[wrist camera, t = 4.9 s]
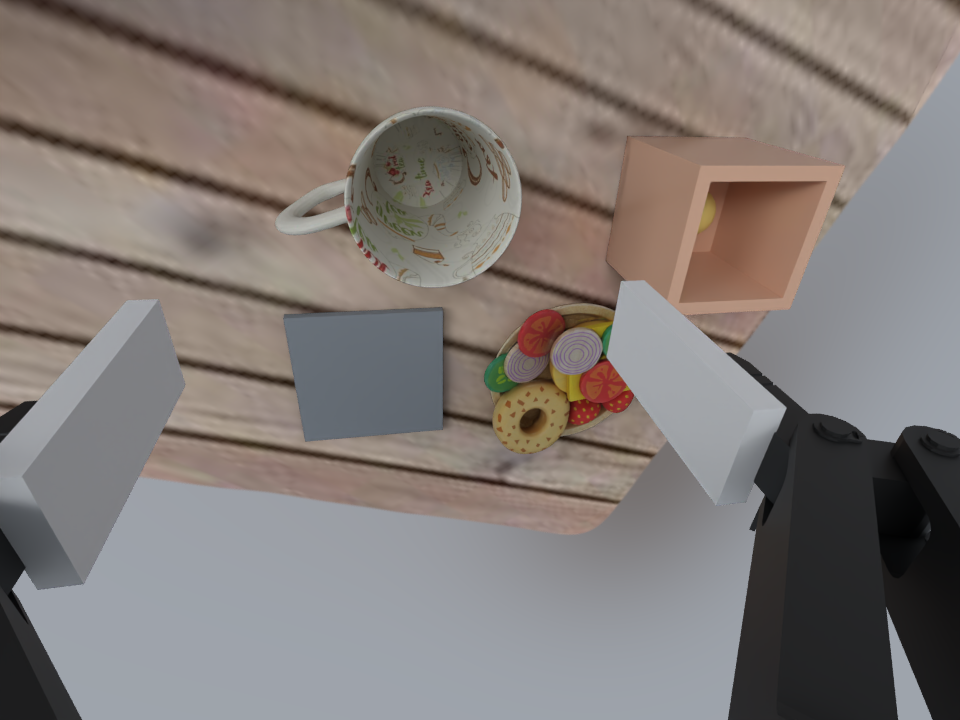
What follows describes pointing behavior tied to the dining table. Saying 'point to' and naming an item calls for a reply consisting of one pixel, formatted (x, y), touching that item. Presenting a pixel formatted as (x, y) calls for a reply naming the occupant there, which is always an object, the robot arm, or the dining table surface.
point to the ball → (707, 213)
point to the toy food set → (555, 377)
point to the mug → (423, 198)
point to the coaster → (367, 371)
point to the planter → (719, 220)
